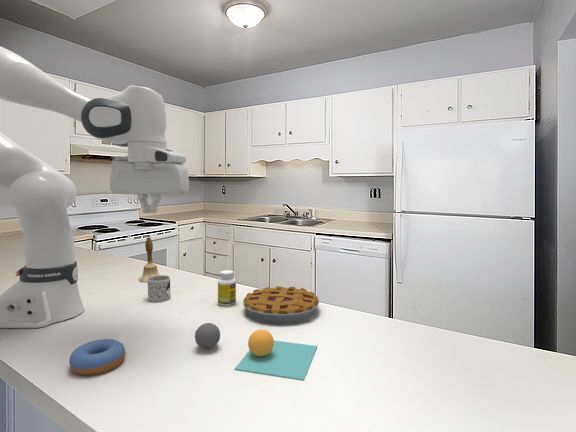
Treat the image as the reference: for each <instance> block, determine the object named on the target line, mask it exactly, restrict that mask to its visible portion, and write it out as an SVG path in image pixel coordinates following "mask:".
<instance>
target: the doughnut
mask: <svg viewBox="0 0 576 432" xmlns="http://www.w3.org/2000/svg"><path fill="white" fill-rule="evenodd" d="M125 357H126V349H125V345H124V343H122V342H121V341H119V340H116V339H110V338H102V339H97V340H92V341H91V340H90V341H89V342H86V343H84V344H82V345H80V346H78V347H76V348H75V349H74V350H73V351H72V353H71V354H70V356H69V360H68V361H69V367H70V369H71V370H72V371H73V373H75V374H78V375H81V376H94V375H95V376H96V375H101V374H103V373H107V372H109V371H113V370H114V369H115V368H117V367H118V366H119V365H120V364H121V363H122V362H124V359H125Z"/></svg>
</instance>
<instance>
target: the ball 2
mask: <svg viewBox="0 0 576 432" xmlns="http://www.w3.org/2000/svg"><path fill="white" fill-rule="evenodd" d="M274 341H275V339H274V337H273V335H272V333H270V331H268V330H266V329H261V328H260V329H256V330H255V331H253V332H252V333H250V336H249V337H248V342H247V346H248V350H250V351H251V353H252V354H254V355H255V356H258V357H263V356H266V355H268V354H269V353H270V352H271V351H272V349H273V346H274Z"/></svg>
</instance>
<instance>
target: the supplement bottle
mask: <svg viewBox="0 0 576 432" xmlns="http://www.w3.org/2000/svg"><path fill="white" fill-rule="evenodd" d="M234 276H235V273H234V271H233V270H227V269H226V270H221V271H220V272H219V277H220V278H219V279H218V280H217V304H218V305H219V306H223V307H230V306H233V305H235V304H236V302H237V280H236V278H234Z"/></svg>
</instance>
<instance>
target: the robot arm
mask: <svg viewBox="0 0 576 432" xmlns="http://www.w3.org/2000/svg"><path fill="white" fill-rule="evenodd" d="M0 100H3V101H6V102H10V103H14V104H19V105H22V106H28V107H31V108H37V109H41V110H45V111H49V112H50V111H51V112H54V113H57V114H61V115H64V116H67V117H69V118H71V119H74V120H76V121H78V122H80V123H81V125H82V127H83V128H84V130H85V132H86V133H87V134H89V135H90V136H92V137H93V138H95V139H98V140H101V141H105V142H107V143H110V144H113V145H116V146H118V147H123V148H127V155H125V156H121V155H118V156H116V157H115V158H114V159H113V160H112V161H111V169H110V176H109V177H110V179H109V190H110V191H111V193H112V194H122V195H123V194H125V195H126V194H127V195H129V194H131V195H137V199H138V201H139V203H140V205H141V209H142V213H144V214H157V212H158V205H159V203H160V201H161V199H162V195H177V196H178V195H187V194H188V192H189V191H190V178H189V170H188V167H187V166H186V165H185V163H186V162H187V157H186V155H185V154H183V153H180V152H177V151H174V150H171V149H168V145H167V144H168V143H167V139H166V134H165V133H166V128H167V115H166V106H165V101H164V98H163V96H162V94H160V92H159V91H157V90H156V89H154V88H151V87H149V86H146V85H143V84H130V85H128V86H127V87H126V88H124V89H123V90H121V91H119V92H117V93H114V94H112V95H108V96H105V97H96V98H95V97H94V98H93V99H90V98H88V97H85V96H83V95H81V94H79V93H77V92H75V91H73V90H71V89H69V88H67V87H66V86H64V85H63V84H61V83H60V82H59V81H57V80H56V79H54V78H53V77H51V76H50V75H49V74H47V73H46V72H44V71H43V70H41V69H40V68H39V67H38V66H36V65H34V64H33V63H32V62H30V61H29V60H27V59H26V58H24V57H22V56H20V55H19V54H17V53H15V52H14V51H11V50H9V49H7V48H5V47H3V46H1V45H0ZM0 186H2V187H4V188H6V189H8V190H9V191H8V197H9V201H10V203H11V204H12V205H13V207H14V208H15V212H16V215H17V219H18V221H19V224H20V228H21V231H22V235H23V240H24V242H23V243H24V252H25V265H24V266H23V267H21V268H20V269H18V270H17V271H16V272H15V273H16V274H15V277H19V279H18V281H17V282H15V283H14V284H12V286H10V287H9V288H7V289H6V290H5V291H4V292H2V293H1V294H0V329H2V328H3V329H8V328H9V329H10V328H11V329H13V328H14V329H21V328H23V329H29V328H30V329H34V328H35V329H38V328H43V327H47V326H49V325H51V324H54V323H58V322H62V321H65V320H70V319H72V318H74V317H76V316H80V314H82V313H83V312H84V311H85V307H84V304H83V302H82V299H81V296H80V291H79V286H78V278H79V270H78V263H77V261H76V260H75V259H76V258H75V257H76V256H75V255H76V254H75V240H74V239H75V237H74V232H73V229H72V228H71V224H70V221H69V220H70V219H69V214H68V210H67V209H68V208H69V207H70V206H72V205H73V204H74V202H75V200H76V198H77V187H76V186H75V183H74V182H73V181H72V180H71V178H69V177H67V176H66V175H65V174H63V173H62V172H61V171H60V170H57V169H56V168H54V167H53V166H51V165H50V164H48V163H47V162H45V161H44V160H42V159H41V158H39V157H38V156H36V155H34V154H33V153H32V152H30V151H28V150H26V149H25V148H24V147H22V146H21V145H20V144H19V143H16V141H14V140H13V139H11V138H10V137H9V136H7V135H6V134H4V133H3V132H2V131H0ZM148 195H150V199H152V200H151V203H150V204H149V202H148V198H149V196H148Z"/></svg>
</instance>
